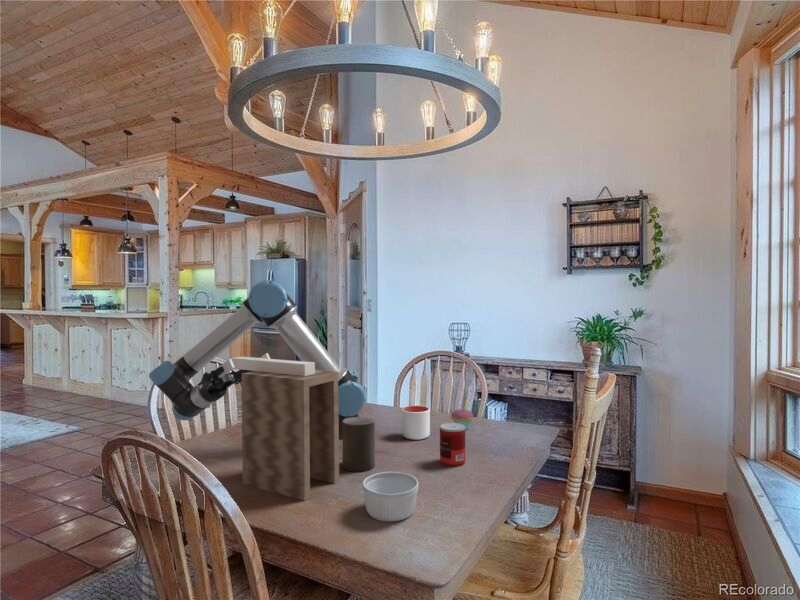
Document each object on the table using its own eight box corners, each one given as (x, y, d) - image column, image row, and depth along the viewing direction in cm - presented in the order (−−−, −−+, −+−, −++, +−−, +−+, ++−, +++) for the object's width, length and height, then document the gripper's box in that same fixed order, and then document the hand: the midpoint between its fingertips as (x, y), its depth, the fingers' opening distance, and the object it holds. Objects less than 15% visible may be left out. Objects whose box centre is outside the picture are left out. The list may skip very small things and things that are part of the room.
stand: (242, 483, 127) (241, 373, 126) (279, 467, 139) (278, 366, 138) (304, 500, 116) (303, 380, 115) (339, 481, 128) (338, 372, 128)
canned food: (467, 459, 144) (467, 423, 144) (462, 468, 137) (462, 430, 137) (443, 456, 147) (443, 421, 147) (437, 465, 139) (436, 428, 139)
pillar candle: (366, 474, 133) (367, 421, 133) (336, 469, 136) (336, 418, 136) (380, 462, 142) (380, 413, 142) (351, 459, 145) (351, 411, 145)
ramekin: (422, 523, 104) (421, 492, 104) (362, 526, 103) (362, 495, 103) (415, 498, 117) (415, 470, 117) (362, 500, 116) (362, 472, 116)
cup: (427, 441, 162) (427, 412, 162) (399, 440, 164) (399, 411, 164) (431, 433, 172) (431, 406, 172) (405, 431, 174) (404, 405, 174)
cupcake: (477, 427, 179) (476, 396, 179) (467, 432, 172) (467, 400, 172) (456, 424, 184) (456, 393, 184) (447, 429, 177) (446, 397, 177)
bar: (231, 368, 136) (231, 358, 136) (242, 366, 139) (241, 356, 139) (304, 375, 122) (304, 364, 122) (314, 373, 125) (314, 362, 125)
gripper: (245, 394, 153) (286, 365, 144) (176, 411, 132) (219, 378, 122) (237, 373, 155) (277, 344, 146) (167, 387, 133) (209, 353, 124)
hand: (251, 360), depth 134 cm, fingers open, 13 cm apart
